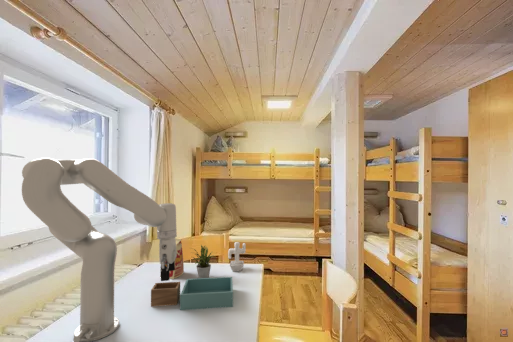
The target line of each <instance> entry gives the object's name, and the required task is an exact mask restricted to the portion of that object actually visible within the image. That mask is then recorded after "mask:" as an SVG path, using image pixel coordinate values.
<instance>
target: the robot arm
mask: <svg viewBox="0 0 513 342" xmlns="http://www.w3.org/2000/svg"><path fill="white" fill-rule="evenodd" d="M21 176H22V179H23V180H22V183H21V196H22V200H23V202H24V204H25V205H26V207H27V208H28V209H29V211H30V212H31V213H32V214H33V215H35V216H36V218H38V219H39V220H40V221H41V222H43V224H45V225H46V226H47V227H48V230H49V232H50V234H51V235H52V236H54V237H55V238H56V239H57V240H58V241H59V242H61V243H62V244H63V245H64V246H66V247H67V248H68V249H69V250H70V251H72V252H73V253H74V254H76V256H78V257H79V258H81V259H82V266H81V272H80V303H79V305H80V306H79V307H80V311H79V313H80V314H79V315H80V316H79V317H80V318H79V321H80V322H79V326H78V327H76V329H75V330H74V333H73V342H94V341H99V340H100V339H103V338H105V337H107V336H110V335H111V334H113V333H114V332H115V331H116V330H118V328H119V327H120V320H119V317H116V316H115V268H116V266H115V265H116V259H117V252H118V247H117V243H116V241H115V240H114V239H113V237H111V236H110V235H108V234H106V233H103V232H101V231H98V230H97V229H96V228H95V227H94V226H93V225H92V221H91V219H90V218H89V217H88V216H87V215H86V214H85V213H84V212H82V211H81V210H80V209H79V208H78V207H77V206H76V205H74V203H73V202H71V200H70V199H69V198H68V197H67V196H66V195H65V194H64V192H63V191H62V189H61V186H64V185H65V186H67V185H78V184H79V185H80V184H84V185H85V186H86V187H88V188H89V189H90V190H92V191H94V192H95V194H97V195H99V196H101V198H103V199H104V200H106V201H107V202H109V203H111V204H112V205H114V206H116V207H119V208H122V209H124V210H127V211H129V212H131V213H132V214H133V218H134V220H135V221H136V222H137V223H138V224H140V225H144V226H147V227H148V226H149V227H153V228H156V235H157V240H159V245H158V246H159V247H158V248H159V250H158V251H159V253H158V256H159V257H158V258H159V264H160V275H161V278H160V281H161V282H167V281H168V282H170V277H169V271H174V270H175V261H174V260H175V258H176V256H177V252H176V240H175V238H177V235H178V234H177V233H178V232H177V207H176V204H174V203H168V202H166V203H159V204H158V203H157V202H156V201H155V200H154V199H152V198H151V197H149V196H148V195H146V194H145V193H144V192H142V191H140V190H138V189H137V188H135V187H134V186H132V185H131V184H129V183H127V182H126V181H125V180H123V179H122V178H121V177H120V176H118V175H117V174H116V173H115V172H113V171H112V170H111V169H110V168H109V167H108V166H106V165H105V164H104V163H103V162H101V161H99V160H98V159H95V158H89V157H88V158H82V159H55V158H51V157H40V158H36V159H32V160H30V161H28V162H27V163H26V164H25V165H24V166H23V168H22V170H21ZM166 265H167V267H166Z"/></svg>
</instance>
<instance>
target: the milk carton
mask: <svg viewBox="0 0 513 342" xmlns="http://www.w3.org/2000/svg"><path fill="white" fill-rule="evenodd" d="M175 240H176V252H177V256H176V258H175V260H174V261H175V270H174V271H169V277H170V279H171V280H174V279H177V278H178V277H182V276H183V274H184V273H185V270H184V268H185V267H184V266H185V265H184V255H183V253H184V252H183V244H182V239H181V238H177V237H175ZM166 267H167V265H166ZM160 277H161V274H160V276H159V278H160ZM170 279H169V280H170Z"/></svg>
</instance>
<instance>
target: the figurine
mask: <svg viewBox="0 0 513 342" xmlns="http://www.w3.org/2000/svg"><path fill="white" fill-rule="evenodd" d="M246 251H247V250H246V243H245V242H243V243H242V248H241V247H240V242H239V241H236V242H234V248H232V247H231V248H229V249H228V251H227V254H228V257H227V258H228V259H229V260H230V259H232V254H234V260H230V264H229V266H230V269H231V271H232V272H242V269H243V267H244V265H245V263H244V260H240V254H242V255H243V254H246Z"/></svg>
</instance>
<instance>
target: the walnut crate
mask: <svg viewBox="0 0 513 342" xmlns="http://www.w3.org/2000/svg"><path fill="white" fill-rule="evenodd" d="M180 295H181V281H168V282H167V281H164V282H155V283H154V285H153V286H152V288H151V289H150V307H162V306H165V305H166V306H177V305H178V304H179V302H180Z"/></svg>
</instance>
